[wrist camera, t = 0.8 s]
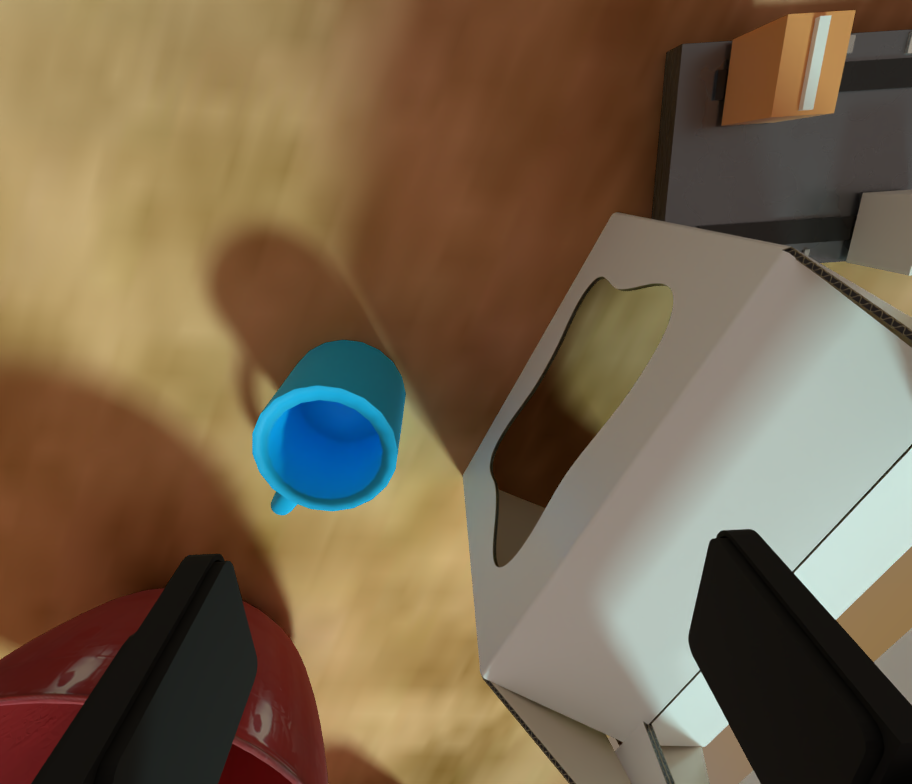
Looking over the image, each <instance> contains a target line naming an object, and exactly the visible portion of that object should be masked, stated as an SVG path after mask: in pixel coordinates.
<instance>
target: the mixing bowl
mask: <svg viewBox="0 0 912 784" xmlns="http://www.w3.org/2000/svg"><path fill="white" fill-rule="evenodd" d="M164 589H165V588H160V589H151V590H145V591H140V592H137V593H133V594H130V595H126V596H123V597H119V598H117V599H114V600H111V601H109V602H107V603H104V604H102V605H100V606H98V607H96V608H93V609H91V610H89V611H87V612H85V613H83V614H81V615H79V616H77V617H75V618H73V619H71V620H69V621H67V622H65V623H63V624H61V625H59V626H57V627H55V628H53V629H51V630H50V631H48V632H46V633H44V634H42V635H40V636H39V637H37V638H35V639H33V640H31V641H30V642H28V643H26V644H25V645H23V646H21V647H20V648H18V649H16V650H15V651H13V652H12V653H10V654H8V655H7V656H5V657H4V658H2V659H1V660H0V784H31V783H32V782H33V780H34V778H35V777H36V775H37V774H38V772H39V771H40V769H41V768H42V766H43V765H44V763H45V762H46V760H47V759H48V757H49V756H50V754H51V753H52V751H53V750H54V748H55V747H56V745H57V744H58V742H59V741H60V739H61V738H62V736H63V735H64V733H65V731H66V730H67V728H68V727H69V725H70V724H71V722H72V721H73V719H74V718H75V716H76V715H77V713H78V712H79V710H80V709H81V707H82V706H83V704H84V703H85V701H86V700H87V698H88V697H89V695H90V694H91V692H92V691H93V689H94V688H95V686H96V684H97V683H98V681H99V680H100V678H101V677H102V675H103V674H104V672H105V671H106V669H107V668H108V666H109V665H110V663H111V662H112V660H113V659H114V657H115V656H116V654H117V653H118V651H119V650H120V648H121V647H122V645H123V644H124V643H125V641H126V640H127V639H128V638H129V636H131V635H132V634H134V633H135V632H137V630H138V629H139V627H140V626H141V624H142V623H143V621H144V619H145V618H146V616H147V615H148V613H149V612H150V610H151V609H152V607H153V606H154V604H155V602H156V601H157V599H158V598H159V596H160V595H161V593H162V592H163V590H164ZM242 602H243V606H244V609H245V613H246V617H247V621H248V625H249V628H250V632H251V636H252V640H253V644H254V647H255V651H256V655H257V664H258V665H257V673H256V677H255V681H254V684H253V686H252V689H251V692H250V695H249V698H248V701H247V703H246V706H245V709H244V712H243V715H242V717H241V720H240V723H239V726H238V729H237V732H236V734H235V737H234V740H233V743H232V746H231V749H230V751H229V754H228V757H227V760H226V763H225V766H224V768H223V771H222V774H221V777H220V780H219V782H218V784H328V775H327V766H326V758H325V750H324V743H323V737H322V731H321V725H320V720H319V715H318V710H317V705H316V701H315V697H314V693H313V690H312V687H311V684H310V681H309V677H308V674H307V671H306V668H305V666H304V664H303V661H302V659H301V657H300V655H299V653H298V651H297V649H296V647H295V646H294V644H293V642H292V641H291V640H290V638H289V637H288V636H287V635H286V633H285V632H284V631H283V629H282V628H281V627H280V626H279V625H277V624H276V623H275V622H274V621H273V620H272V619H271V618H269V617H268V616H267V615H266V614H264V613H263V612H262V611H261V610H259V609H257V608H255V607H253V606H252V605H250V604H248V603H246V602H244V601H242Z"/></svg>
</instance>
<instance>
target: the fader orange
mask: <svg viewBox="0 0 912 784" xmlns="http://www.w3.org/2000/svg"><path fill="white" fill-rule="evenodd" d="M855 12H856V10H848V11H832V12H816V13H800V14H788V15H786V16H783V17H781V18H779V19H777V20H775V21H772V22H770V23H768V24H766V25H764V26H762V27H759V28H757V29H755V30H753V31H751V32H748V33H746V34H744V35H742V36H740V37H737V38H735V39H733V41H732V49H731V56H730V64H729V71H728V79H727V86H726V94H725V101H724V109H723V116H722V124H721V126H728V125H743V124H759V123H774V122H781V121H787V120H794V119H800V118H807V117H813V116H820V115H826V114H832V113H834V111H835V106H836V102H837V97H838V92H839V87H840V83H841V78H842V73H843V69H844V64H845V59H846V54H847V50H848V45H849V40H850V35H851V31H852V26H853V21H854V16H855Z"/></svg>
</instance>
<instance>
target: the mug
mask: <svg viewBox="0 0 912 784" xmlns="http://www.w3.org/2000/svg"><path fill="white" fill-rule="evenodd" d="M405 395H406V392H405V388H404V383H403V379H402V376H401V374H400V373H399V371H398V369H397V368H396V366H395V364H394V363H393V362H392V361H391V360H390V359H389V358H388V357H387V356H386V355H384V354H383V353H382V352H381V351H380V350H378V349H376V348H374V347H372V346H369V345H367V344H365V343H363V342H357V341H350V340H338V341H332V342H326V343H323V344H322V345H320V346H318V347H316V348H314V349H312V350H310V351H309V352H308V353H307V354H306V355H305V356H304V357H303V358H302V359H301V360H300V361H299V363H298V364H297V365H296V366H295V368H294V369H293V370H292V372H291V373H290V375H289V376H288V377H287V379H286V380H285V381H284V383H283V384H282V385H281V387H280V388H279V389H278V391H277V392H276V394H275V395H274V396H273V398H272V399H271V400H270V402H269V403H268V404H267V406H266V407H265V409H264V410H263V411H262V413H261V414H260V416H259V418H258V421H257V423H256V426H255V428H254V431H253V456H254V459H255V461H256V464H257V467H258V469H259V472H260V473H261V475H262V476H263V477H264V478H265V480H266V481H267V482H268V483H269V485H270V486H271V487H272V489H274V490H275V491H276V493H275V495H274V497H273V499H272V502H271V508H272V510H273V511H274V512H275V513H276V514H278V515H286V514H288V513H289V512H291V511H292V510H293V509H294V507H295V506H296V505H297V504H299V505H302V506H304V507H307V508H310V509H316V510H325V511H338V510H344V509H351V508H355V507H357V506H359V505H361V504H363V503H366V502H368V501H370V500H372V499H373V498H374V497H375V496H376V495H378V494H379V493H380V492H381V491H382V490H383V489H384V488H385V487H386V486H387V484H388V483H389V481H390V479H391V477H392V475H393V473H394V471H395V469H396V462H397V454H398V447H399V440H400V433H401V425H402V418H403V411H404V403H405Z"/></svg>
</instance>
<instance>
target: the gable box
mask: <svg viewBox="0 0 912 784" xmlns="http://www.w3.org/2000/svg"><path fill="white" fill-rule="evenodd" d="M603 278H606V279H607V280H608V281H609V282H610V283H611V284H612V286H613V287H615V288H616V289H618V290H621V291H632V290H638V289H642V288H647V287H652V286H668V287H670V289H671V290H672V293H673V309H672V314H671V317H670V320H669V323H668V326H667V328H666V331H665V333H664V335H663V337H662V339H661V341H660V343H659V345H658V347H657V349H656V351H655V352H654V354H653V356H652V358H651V359H650V361H649V362H648V364H647V366H646V367H645V369H644V371H643V372H642V374H641V375H640V377H639V378H638V380H637V382H636V383H635V385H634V386H633V388H632V389H631V390H630V392H629V393H628V395H627V396H626V397H625V399H624V400H623V402H622V403H621V404H620V406H619V407H618V408H617V410H616V411H615V412H614V413H613V415H612V416H611V417H610V419H609V420H608V421H607V422H606V424H605V425H604V426H603V427H602V429H601V430H600V431H599V432H598V433H597V435H596V436H595V437H594V438H593V440H592V441H591V442H590V443H589V445H588V446H587V447H586V448H585V450H584V451H583V452H582V453H581V455H580V456H579V457H578V458H577V460H576V461H575V462H574V464H573V465H572V466H571V468H570V469H569V471H568V472H567V473H566V475H565V476H564V478H563V479H562V481H561V483H560V484H559V486H558V488H557V489H556V491H555V493H554V494H553V496H552V498H551V500H550V501H549V503H548V505H547V507H546V508H544V507H541V506H539V505H536V504H534V503H531V502H528V501H526V500H523V499H521V498H518V497H516V496H513V495H511V494H508V493H506V492H503V491H501V490H499V489H498V484H497V482H496V479H495V477H494V474H493V460H494V457H495V454H496V451H497V449H498V446H499V444H500V443H501V441H502V439H503V437H504V436H505V434H506V432H507V431H508V429H509V428H510V426H511V425H512V423H513V422H514V420H515V419H516V417H517V416H518V415H519V413H520V412H521V411H522V409H523V408H524V407H525V405H526V404H527V402H528V401H529V400H530V398H531V397H532V395H533V394H534V392H535V391H536V389H537V388H538V386H539V385H540V383H541V381H542V380H543V378H544V376H545V375H546V373H547V371H548V369H549V367H550V366H551V364H552V362H553V360H554V358H555V356H556V354H557V352H558V350H559V348H560V346H561V344H562V342H563V340H564V338H565V336H566V334H567V331H568V329H569V327H570V325H571V323H572V320H573V318H574V316H575V314H576V312H577V310H578V308H579V306H580V305H581V303H582V301H583V300H584V298H585V296H586V295H587V293H588V292H589V291H590V289H591V288H592V287H593V286H594V285H595V284H596V283H597V282H598V281H599V280H601V279H603ZM463 484H464V496H465V507H466V518H467V529H468V540H469V551H470V562H471V573H472V584H473V595H474V606H475V618H476V629H477V640H478V651H479V662H480V673H481V675H482V677H483V680H484V681H485V682H486V683H487V684H488V686H489V687H490V688H491V689H492V690H493V692H494V693H495V694H496V695H497V697H498V698H499V699H500V700H501V701H502V703H503V704H504V705H505V706H506V707H507V709H508V710H509V711H510V712H511V713H512V715H513V716H514V717H515V718H516V720H517V721H518V722H519V723H520V724H521V726H522V727H523V728H524V729H525V730H526V732H527V733H528V734H529V735H530V737H531V738H532V739H533V740H534V741H535V743H536V744H537V745H538V746H539V747H540V749H541V750H542V751H543V752H544V753H545V755H546V756H547V757H548V758H549V760H550V761H551V762H552V763H553V764H554V766H555V767H556V768H557V769H558V770H559V772H560V773H561V774H562V775H563V777H564V778H565V779H566V780H567V781H568V783H569V784H709V779H708V774H707V769H706V765H705V760H704V755H703V750H702V747H705V746H706V745H708V744H709V743H710V741H712V740H713V739H714V738H715V737H716V736H717V735H718V734H719V733H720V732H721V731H722V730H723V729H724V728H725V727H726V726H727V725H728V724H729V723H728V721H727V720H726V718H725V716H724V714H723V712H722V710H721V708H720V706H719V705H718V703H717V701H716V699H715V697H714V695H713V693H712V691H711V690H710V688H709V686H708V684H707V682H706V680H705V678H704V676H703V675H702V673H701V671H700V669H699V667H698V665H697V663H696V661H695V660H694V658H693V656H692V653H691V651H690V647H689V642H688V635H689V630H690V625H691V621H692V616H693V612H694V608H695V603H696V599H697V594H698V590H699V585H700V581H701V576H702V572H703V567H704V563H705V559H706V554H707V550H708V545H709V542H710V540H711V539H714V538H716V537H717V534H718V533H719V532H720V531H723V530H740V529H752V530H754V531H756V532H757V533H758V534H759V535H760V536H761V537H762V538H763V540H764V541H765V542H766V543H767V544H768V545H769V546H770V547H771V548H772V550H773V551H774V552H775V553H776V554H777V555H778V556H779V557H780V559H781V560H782V561H783V562H784V563H785V564H786V565H787V566H788V567H789V569H790V570H791V571H792V572H793V573H794V574H795V575H796V576H797V577H798V579H799V580H800V581H801V582H802V583H803V584H804V585H805V586H806V588H807V589H808V590H809V591H810V592H811V593H812V594H813V595H814V596H815V598H816V599H817V600H818V601H819V602H820V603H821V604H822V605H823V607H824V608H825V609H826V610H827V611H828V612H829V613H830V614H831V615H832V617H833V618H834V619H835V620H836V619H837V618H838V617H839V616H840V615H841V614H842V613H843V612H844V611H845V610H846V609H847V608H848V607H849V606H850V605H851V604H853V602H855V600H857V599H858V597H860V596H861V595H862V594H863V593H864V592H865V591H866V590H867V589H868V588H869V587H870V586H871V585H872V584H873V583H874V582H875V581H876V580H877V579H878V578H879V577H880V576H881V575H882V574H883V573H884V572H885V571H886V570H887V569H888V568H890V567H891V566H892V565H893V564H894V563H895V562H896V561H897V560H898V559H899V558H900V557H901V556H902V555H903V554H904V553H905V552H906V551H907V550H908V549H909V548H910V547H911V546H912V317H910V316H908V315H906V314H905V313H903V312H901V311H900V310H898V309H896V308H895V307H893V306H891V305H890V304H888V303H886V302H884V301H883V300H881V299H879V298H878V297H876V296H874V295H873V294H871V293H869V292H868V291H866V290H864V289H862V288H861V287H859V286H857V285H856V284H854V283H852V282H851V281H849V280H847V279H846V278H844V277H842V276H840V275H839V274H837V273H835V272H834V271H832V270H830V269H829V268H827V267H825V266H823V265H822V264H820V263H818V262H817V261H815V260H813V259H812V258H810V257H808V256H807V255H805V254H803V253H801V252H800V251H798V250H796V249H795V248H793V247H791V246H786V245H781V244H776V243H771V242H765V241H760V240H755V239H750V238H745V237H740V236H735V235H730V234H725V233H720V232H715V231H710V230H705V229H700V228H695V227H690V226H685V225H680V224H674V223H669V222H664V221H659V220H654V219H649V218H644V217H639V216H634V215H629V214H624V213H619V212H616V213H614V214H612V215H611V217H610V219H609V221H608V222H607V224H606V226H605V228H604V229H603V231H602V233H601V235H600V236H599V238H598V240H597V242H596V243H595V245H594V247H593V249H592V250H591V252H590V254H589V256H588V257H587V259H586V261H585V263H584V264H583V266H582V268H581V270H580V271H579V273H578V275H577V277H576V278H575V280H574V282H573V284H572V285H571V287H570V289H569V290H568V292H567V294H566V296H565V297H564V299H563V301H562V303H561V304H560V306H559V308H558V310H557V311H556V313H555V315H554V317H553V318H552V320H551V322H550V324H549V325H548V327H547V329H546V331H545V332H544V334H543V336H542V338H541V339H540V341H539V343H538V345H537V346H536V348H535V350H534V352H533V353H532V355H531V357H530V359H529V360H528V362H527V364H526V366H525V367H524V369H523V371H522V373H521V374H520V376H519V378H518V380H517V381H516V383H515V385H514V387H513V388H512V390H511V392H510V394H509V395H508V397H507V399H506V401H505V402H504V404H503V406H502V408H501V409H500V411H499V413H498V415H497V416H496V418H495V420H494V422H493V423H492V425H491V427H490V428H489V430H488V432H487V434H486V435H485V437H484V439H483V441H482V442H481V444H480V446H479V448H478V449H477V451H476V453H475V455H474V456H473V458H472V460H471V462H470V463H469V465H468V467H467V469H466V470H465V472H464V474H463ZM874 663H875V665H876V666H877V667H878V668H879V669H880V670H881V671H882V672H883V674H884V675H885V676H886V677H887V678H888V679H889V680H890V681H891V682H892V684H893V685H894V686H895V687H896V688H897V689H898V690H899V691H900V693H901V694H902V695H903V696H904V697H905V698H906V699H907V700H908V701H909V703H910V704H911V705H912V628H911V629H910V630H909V631H908V632H907V633H906V634H905V635H904V636H902V637H901V638H900V639H899V640H898V641H897V642H896V643H895V644H893V645H892V646H891V647H890V648H889V649H888V650H887V651H886V652H885V653H883V654H882V655H881V656H880V657H879V658H878V659H877V660H876V661H875V662H874ZM606 735H609V736H611V737H613V738H615V739H616V740H617V742H618V744H619V748H617V750H616V751H614V749H613V747H612V745H611V744H610V742H609V740H608V738H607V736H606ZM739 784H761V783H760V781H759V779H758V778H757V776H756V774H755V772H754V770H753V771H752V772H751V773H750V774H749V775H748V776H747V777H745V778H744V779H743V780H742V781H741V782H740V783H739Z"/></svg>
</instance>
